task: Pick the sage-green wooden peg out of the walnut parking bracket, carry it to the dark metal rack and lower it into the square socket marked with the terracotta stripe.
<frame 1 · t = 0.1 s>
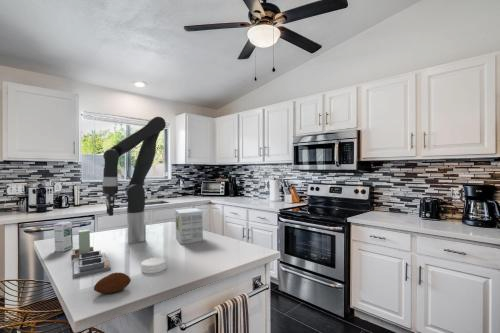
hand: (109, 214, 149), 17 cm above the counter, tool pointing down, fingers open, 8 cm apart
peg: (84, 242, 135), in the parking bracket
supplement box: (189, 240, 157), on the counter
rack: (91, 265, 119), on the counter
syrup box: (63, 250, 143), on the counter
coaster: (153, 269, 114), on the counter
potato: (112, 292, 94), on the counter
parking bracket: (84, 254, 135), on the counter
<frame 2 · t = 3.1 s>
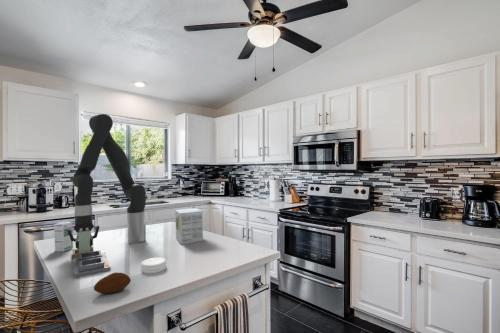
hand: (84, 247, 135), 3 cm above the counter, tool pointing down, fingers closed on peg, 4 cm apart
peg: (84, 242, 135), in the parking bracket, touching gripper
everything else where it was.
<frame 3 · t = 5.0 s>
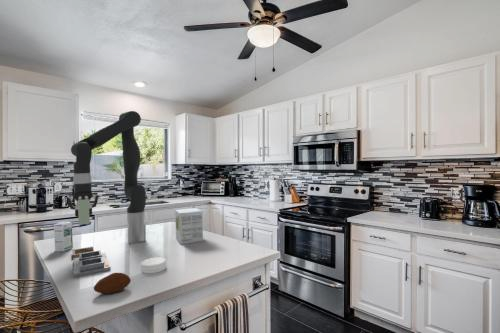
hand: (83, 216, 135), 19 cm above the counter, tool pointing down, fingers closed on peg, 4 cm apart
peg: (83, 211, 135), point 22 cm above the counter, touching gripper
everything else where it was.
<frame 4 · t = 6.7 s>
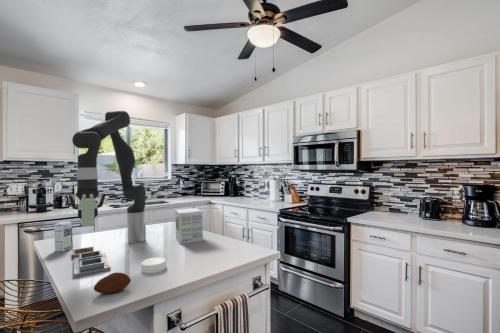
hand: (87, 217, 116), 22 cm above the counter, tool pointing down, fingers closed on peg, 4 cm apart
peg: (87, 211, 116), point 24 cm above the counter, touching gripper
everything else where it was.
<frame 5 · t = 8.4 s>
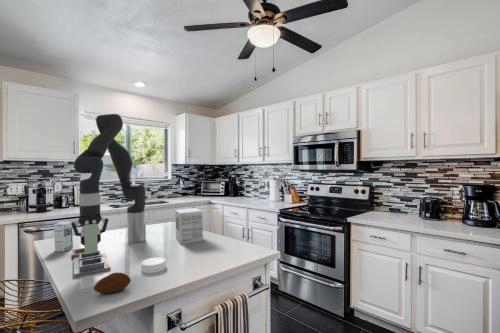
hand: (90, 243, 114), 11 cm above the counter, tool pointing down, fingers closed on peg, 4 cm apart
peg: (90, 237, 114), point 14 cm above the counter, touching gripper
everything else where it was.
when the fingers open (6 cm above the counter, at t = 9.9 s): peg stays where it is, resting on rack.
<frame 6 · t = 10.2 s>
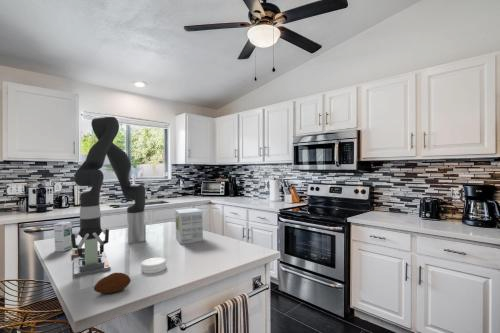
hand: (91, 255, 114), 6 cm above the counter, tool pointing down, fingers open, 6 cm apart
peg: (91, 252, 114), in the rack, point 8 cm above the counter
everything else where it was.
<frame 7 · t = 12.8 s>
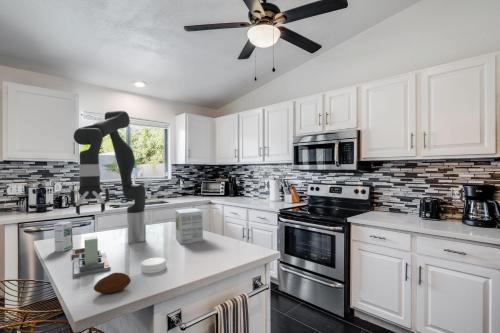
hand: (90, 213, 114), 24 cm above the counter, tool pointing down, fingers open, 8 cm apart
nothing on the counter moved.
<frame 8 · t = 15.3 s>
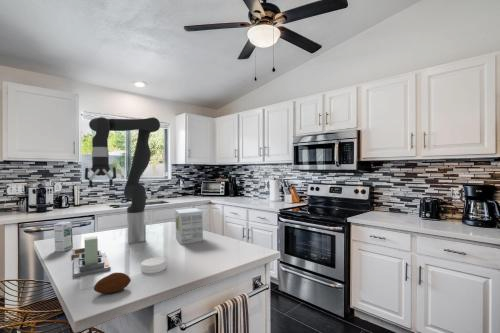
hand: (101, 187, 140), 33 cm above the counter, tool pointing down, fingers open, 8 cm apart
nothing on the counter moved.
at the end: peg 0.2 cm from the target spot on the rack, point 7.5 cm above the rack's base; peg tilted 0°; the gripper is holding nothing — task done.
